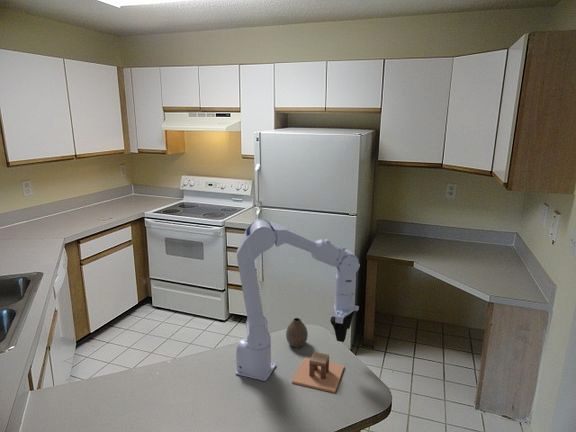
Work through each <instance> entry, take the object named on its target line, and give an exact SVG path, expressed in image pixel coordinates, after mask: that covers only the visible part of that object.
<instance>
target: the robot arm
mask: <svg viewBox="0 0 576 432" xmlns="http://www.w3.org/2000/svg"><path fill="white" fill-rule="evenodd" d="M284 244H287V245H289V246H293V247H296V248H299V249H301V250H304V251H306V252H309V253H310V254H311V257H312V259H314V260H316V261H317V262H318V261H319V262H322V263H324V264H326V265H329V266H331V267H335V279H334V280H335V283H334V303H333V310H334V313H335V316H333V315H332V316H331V317H330V323H331V325H332V327H333V330H334V333H335V339H336V341H337V342H341V343H345V341H346V339H347V338H346V336H347V332H348V330H350V328H351V325H352V322H353V317H354V314H355V312H358V311H359V309H360V306H359V305H357V304H356V289H357V288H356V283H357V277H356V276H357V272H358V271H359V269H360V266H361V264H360V261H359V258H358V257H357V256H356V255H355V254H354V252H353V251H351V250H350V249H348V247H345V246H338V245H335V244H333V243H331V240H330V239H327V238H325V239H321V238H320V239H317V240H313V239H310V238H309V237H307V236H304V235H302V234H300V233H298V232H296V231H294V230H292V229H290V228H288V227H286V226H283V225H281V224H279V223H277V222H274V221H270V222H269V221H268V220H267V219H265V218H257V219H255V220H253V221H252V222H251V223H250V224H249V225H248V226H247V227H246V228H245V232H244V235H243V237H242V239H241V241H240V242H239V245H238V248H237V250H236V259H237V260H236V262H237V264H238V265H237V267H238V272H239V277H240V283H241V288H242V295H243V301H244V305H245V310H246V311H245V312H246V317H247V319H246V322H245V327H246V335H247V337H246V338H241V339H239V341H238V343H237V347H236V354H235V355H236V356H235V358H236V360H235V361H236V371H235V375H238V376H243V377H247V378H251V379H254V380H255V379H256V380H259V381H264V382H265V381H267V380H268V379H269V377H270V375H271V374H272V372H273V371H274V369H275V368H276V366H277V364H276V363H275V362H272V353H271V352H272V346H271V345H272V344H271V343H272V342H271V341H272V338H271V333H270V331H269V326H268V320H267V318H266V317H265V315H264V311H263V305H262V301H261V299H262V298H261V294H260V287H259V280H258V275H257V268H256V263H255V261H256V260H257V259H258V257H259V256H260V255H261V254H264V253H265V252H267V251H268V250H270V249H271V248H272V247H273V246H274V245H275V247H280V246H282V245H284Z"/></svg>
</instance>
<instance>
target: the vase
mask: <svg viewBox="0 0 576 432" xmlns="http://www.w3.org/2000/svg"><path fill="white" fill-rule="evenodd" d="M307 329H308V328H307V326H306V325H305V323H303V322H302V319H301V318H300V317H295V318H293V320H292V321H291V322H290V323H289V324H288V327H287V328H286V332H285V334H286V335H285V338H286V341H287V343H288V344H289V345H290V346H291V347H293V348H301V347H303V346H304V345H305V344H306V343H307V340H308V335H309V334H308V330H307Z"/></svg>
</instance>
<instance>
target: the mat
mask: <svg viewBox="0 0 576 432" xmlns="http://www.w3.org/2000/svg"><path fill="white" fill-rule="evenodd" d="M310 359H311V357H304V359H303V361H302V363H301V364H300V366H299V368H298V370H297V371H296V374H295V376H294V377H293V379H292V381H291V382H292V384H295V385H299V386H303V387H308V388H313V389H316V390H320V391H326V392H328V393H336V392H337V391H336V390H337V388H338V386H339V383H340V380H341V377H342V375H343V372H344V369H345V365H344V364H340V363H334V362H330V361H329V371H328V373H327V372H326V378H325V379H321V366H318V368H317V370H315V375H314V377H311V376H309V365H310Z"/></svg>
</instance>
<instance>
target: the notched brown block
mask: <svg viewBox="0 0 576 432" xmlns="http://www.w3.org/2000/svg"><path fill="white" fill-rule="evenodd" d="M310 358H311V359H310V365H309V376H311V377H314V375H315V370H317V368H318V366H321V379H325V378H326V372H327V373H328V371H329V362H330V354H327V353H323V352H318V351H313V353H312V355H311V357H310Z"/></svg>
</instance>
